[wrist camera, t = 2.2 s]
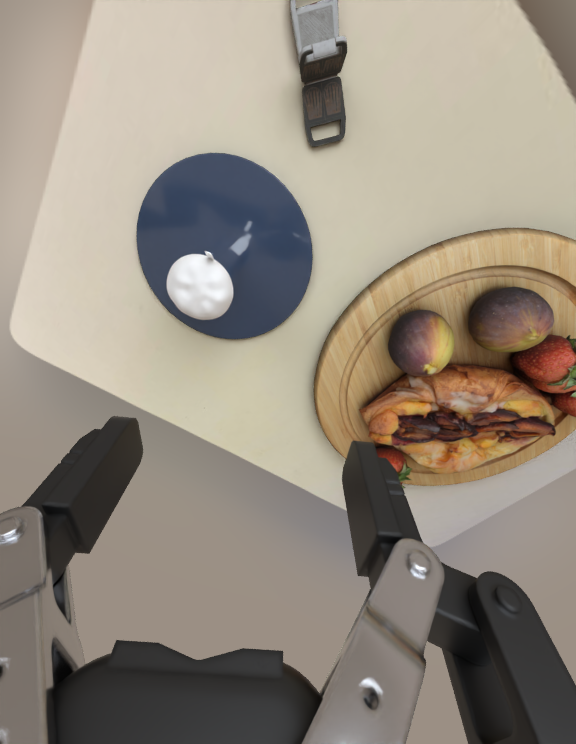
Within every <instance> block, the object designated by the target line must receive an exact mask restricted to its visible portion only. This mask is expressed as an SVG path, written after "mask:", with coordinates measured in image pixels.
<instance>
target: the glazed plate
mask: <svg viewBox="0 0 576 744" xmlns="http://www.w3.org/2000/svg"><path fill="white" fill-rule="evenodd" d="M216 246H223V247H229V248H231V249H232V250H233V251H234V252H235V253H236V254H237V255H238V256H239V260H240V264H241V270H240V273H239V276H238V279H237V282H236V286H235V290H234V294H233V299H232V302H231V304H230V306H229V308H228V310H227V311H226V312H225V313H224V314H223V315H221V316H220V317H218V318H215V319H210V320H200V319H196V318H193V317H190V316H188V315H186V314H184V313H183V312H181V311H180V310H179V309H178V308H177V306H176V305H175V304H174V302H173V301H172V300H171V298H170V296H169V294H168V291H167V277H168V273H169V271H170V269H171V267H172V265H173V264H174V263H175V262H176V261H177V260H178V259H180V258H181V257H184V256H186V255H190V254H194V253H198V252H202V251H205V250H208V249H210V248H213V247H216ZM137 249H138V254H139V259H140V263H141V266H142V269H143V272H144V275H145V277H146V279H147V281H148V283H149V285H150V287H151V289H152V290H153V292H154V294H155V295H156V296H157V298H158V299H159V300H160V302H161V303H162V304H163V305H164V306H165V307H166V308H167V310H168V311H169V312H170V313H172V314H173V315H174V316H175V317H176V318H177V319H179V320H180V321H182V322H183V323H184V324H186V325H187V326H189V327H191V328H193V329H195V330H197V331H199V332H202V333H204V334H207V335H210V336H214V337H218V338H225V339H244V338H250V337H255V336H258V335H261V334H264V333H266V332H268V331H270V330H272V329H274V328H275V327H277V326H278V325H280V324H281V323H282V322H284V321H285V320H286V319H287V318H288V317H289V316H290V315H291V314H292V313H293V311H294V310H295V309H296V308H297V306H298V305H299V303H300V302H301V300H302V298H303V296H304V294H305V292H306V289H307V286H308V283H309V280H310V275H311V270H312V258H313V257H312V243H311V237H310V232H309V229H308V226H307V222H306V220H305V217H304V215H303V213H302V211H301V208H300V207H299V205H298V203H297V202H296V200H295V198H294V197H293V195H292V194H291V193H290V192H289V190H288V189H287V188H286V187H285V185H284V184H283V183H282V182H280V181H279V180H278V179H277V178H276V177H275V176H274V175H273V174H271V173H270V172H269V171H267V170H266V169H265V168H263V167H261V166H260V165H258V164H256V163H254V162H252V161H250V160H247V159H245V158H242V157H239V156H235V155H230V154H225V153H206V154H198V155H195V156H191V157H188V158H185V159H183V160H181V161H179V162H177V163H175V164H174V165H172V166H171V167H169V168H168V169H167V170H165V171H164V172H163V173H162V174H161V175H160V176H159V177H158V178H157V179H156V180H155V182H154V183H153V185H152V186H151V187H150V189H149V190H148V192H147V194H146V196H145V198H144V200H143V203H142V206H141V209H140V212H139V217H138V223H137Z"/></svg>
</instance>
